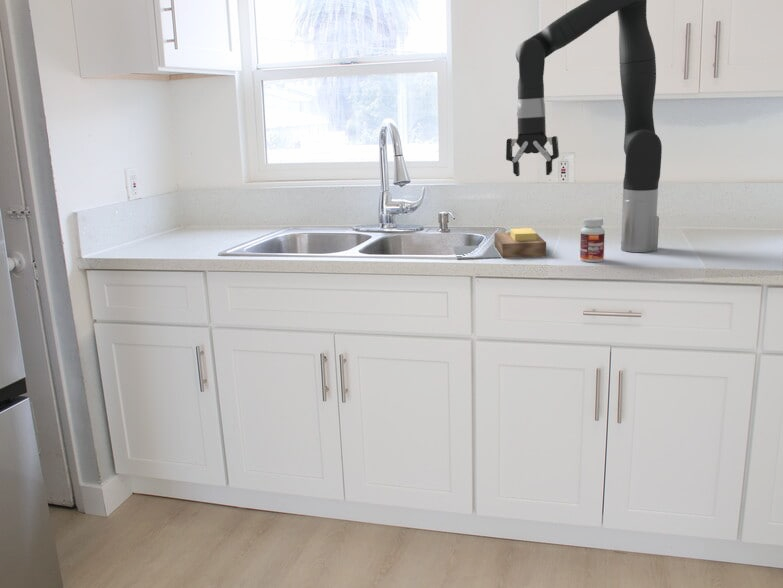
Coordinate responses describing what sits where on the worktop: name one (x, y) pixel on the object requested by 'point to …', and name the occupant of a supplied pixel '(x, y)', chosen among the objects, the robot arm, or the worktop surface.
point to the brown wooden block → (519, 246)
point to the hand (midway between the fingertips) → (532, 175)
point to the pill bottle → (592, 240)
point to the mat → (468, 249)
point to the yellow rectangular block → (523, 234)
